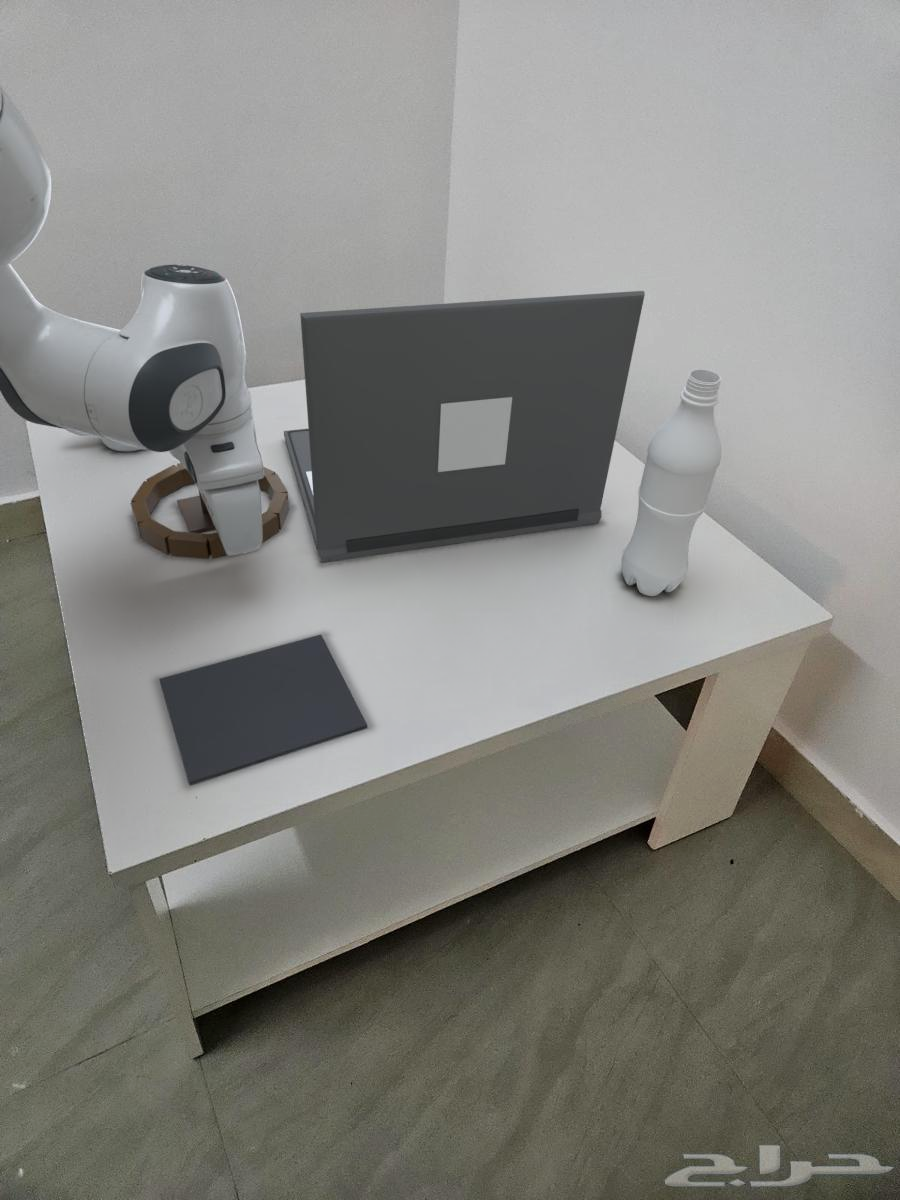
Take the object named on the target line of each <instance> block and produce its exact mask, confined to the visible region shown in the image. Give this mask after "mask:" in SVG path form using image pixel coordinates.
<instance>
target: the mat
mask: <svg viewBox="0 0 900 1200" xmlns="http://www.w3.org/2000/svg"><path fill="white" fill-rule="evenodd" d="M159 682H160V685H161V689H162V693H163V697H164V700H165V703H166V707H167V710H168V714H169V718H170V721H171V724H172V728H173V732H174V735H175V739H176V743H177V746H178V749H179V753H180V756H181V760H182V763H183V765H184V766H183V767H184V771H185V774H186V778H187V781H188V784H189V785H190V786H191V785H194V784H197V783H200V782H203V781H206V780H210V779H212V778H217V777H219V776H222V775H225V774H228V773H231V772H235V771H238V770H241V769H244V768H247V767H249V766H253V765H256V764H260V763H262V762H265V761H269V760H271V759H274V758H277V757H281V756H284V755H286V754H290V753H292V752H296V751H299V750H302V749H306V748H308V747H311V746H315V745H318V744H321V743H324V742H328V741H330V740H333V739H337V738H339V737H342V736H345V735H346V736H347V735H348V734H352V733H355V732H359V731H361V730H364V729H367V728H368V723H367V721H366V720H365V717H364V716H363V713H362V712H361V709H360V707H359V705H358V704H357V702H356V700H355V697H354V696H353V694H352V692H351V690H350V688H349V686H348V684H347V682H346V680H345V678H344V676H343V674H342V672H341V670H340V669H339V666H338V664H337V663H336V661H335V659H334V656H333V654H332V653H331V651H330V649H329V647H328V645H327V643H326V641H325V639H324V637H323V635H322V634H317V635H314V636H310V637H306V638H303V639H298V640H295V641H292V642H287V643H285V644H280V645H277V646H274V647H269V648H266V649H263V650H259V651H255V652H252V653H247V654H244V655H241V656H237V657H233V658H229V659H226V660H223V661H219V662H215V663H212V664H207V665H205V666H201V667H197V668H195V669H190V670H186V671H183V672H179V673H175V674H172V675H168V676H165V677H160V678H159Z"/></svg>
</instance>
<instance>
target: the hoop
mask: <svg viewBox="0 0 900 1200" xmlns="http://www.w3.org/2000/svg"><path fill="white" fill-rule="evenodd" d="M263 469H264V478H262V479H259V480H258V483H259V487H260V491H263V492H265V493H266V494H267V495H268V497H269V498H270V503H269V504H268V507H267V509H266V511H265V512H262V529H263V540H262V544H263V543H265V542H266V541H268V540H269V539H271V538H272V537H274V536H275V535H277V534H279V533H280V531H281V530H282V529H283V526H284V523H285V521H286V518H287V516H288V515H289V511H290V502H289V501H290V500H289V493H288V489H287V488H286V485H284V483H283V481H282V479H281V477H280V475H279V474H278V473H276V471H274V470H272V469H270V468H268V467H265V466H263ZM195 484H196V483H195V482H194V480H193V478H192V476H191V475H190V473H189V472H188V471H187V469H186V468H185V467H184V466H183V465H182V464H181V463H180V462H178V463H176V465H175V464H173V465H170V466H169V467H167V468H165V469H163V470H161V471H158V472H157V473H155V474H153V475H151V476H150V477H148V478H146V480H144V481H143V482H142V483H141V485H140V486H139V488H138V489H137V491H136V492H135V494H134V495H133V497H132V498H131V500H130V507H131V511H132V515H133V519H134V522H135V526H136V529H137V532H138V535H139V538H140V540H142V542H143V543H144V544H147V545H149V546H151V547H153V548H154V549H156V550H158V551H160V552H161V553H163V554H165V555H167V556H169V555H170V556H171V557H177V558H179V557H180V558H190V559H202V560H209V559H210V558H211V559H212V560H215V559H218V558H219V559H220V558H223V557H227V556H228V555H227V554H226V552H225V550H224V547H223V544H222V542H221V540H220V537H219V535H218V533H217V531H216V532H211V533H191V532H188V531H178V530H173V529H171V528H169V527H167V526H166V525H164V524H162V523H160V522H158V521H156V520H154V519H152V518H151V514H152V513H153V511H154V509H155V507H156V506H157V504H158V503H159V501H160V500H161V499H163V498H164V497H167V496H168V495H170V494H172V493H174V492H175V491H178V490H179V489H181V488H182V487H186V486H190V485H195Z"/></svg>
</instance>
